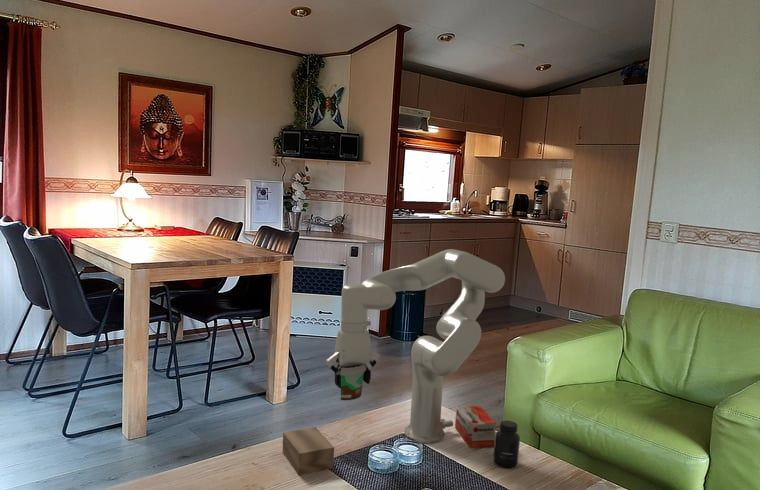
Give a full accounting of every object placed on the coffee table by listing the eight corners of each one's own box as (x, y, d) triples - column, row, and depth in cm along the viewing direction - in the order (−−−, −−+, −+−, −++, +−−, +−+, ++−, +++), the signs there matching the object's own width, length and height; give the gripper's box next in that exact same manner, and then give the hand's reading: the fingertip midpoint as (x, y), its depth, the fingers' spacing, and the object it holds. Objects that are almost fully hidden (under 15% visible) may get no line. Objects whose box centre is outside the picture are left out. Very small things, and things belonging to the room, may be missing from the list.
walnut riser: (315, 446, 169) (315, 427, 168) (333, 468, 157) (334, 447, 156) (282, 452, 164) (283, 432, 164) (298, 475, 152) (299, 453, 151)
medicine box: (454, 428, 187) (455, 405, 186) (477, 427, 189) (479, 404, 188) (470, 449, 172) (472, 424, 171) (495, 448, 174) (497, 423, 173)
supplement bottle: (504, 471, 160) (507, 430, 158) (488, 460, 166) (491, 420, 164) (522, 466, 163) (526, 426, 162) (507, 456, 169) (510, 417, 168)
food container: (360, 404, 162) (361, 370, 161) (339, 402, 163) (340, 368, 162) (368, 388, 174) (370, 357, 173) (349, 386, 175) (350, 355, 174)
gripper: (374, 321, 173) (373, 376, 175) (321, 326, 165) (320, 384, 167) (386, 326, 167) (384, 384, 169) (331, 332, 159) (330, 393, 161)
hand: (352, 384), depth 168 cm, fingers closed on food container, 8 cm apart
